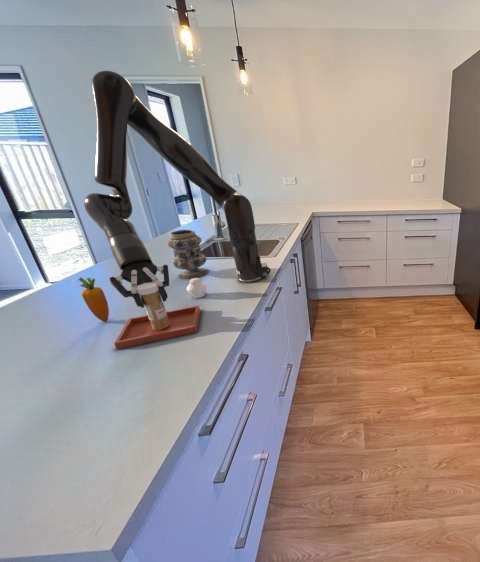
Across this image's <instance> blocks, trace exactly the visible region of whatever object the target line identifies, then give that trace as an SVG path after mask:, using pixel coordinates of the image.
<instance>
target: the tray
mask: <svg viewBox="0 0 480 562" xmlns="http://www.w3.org/2000/svg"><path fill="white" fill-rule="evenodd" d="M166 313H167V316H168V319H169V322H170V325H169V326H168V327H167V328H165V329H162V330H153V328H152V324H151V322H150V320H149V318H148V315H147V314H146V315H142V316H136V317H131V318H128V320H127V321H126V322H125V325H124V326H123V328H122V330H121V331H120V333H119V335H118V336H117V338H116V339H115V341H114V346H115V348H116V350H121V349H126V348H130V347H135V346H139V345H144V344H150V343H154V342H159V341H163V340H167V339H171V338H176V337H181V336H182V337H183V336H185V335H191V334H195V333H197V331H198V327H199V326H198V325H199V322H200V315H201V308H200V305H195V306H189V307H184V308H179V309H178V308H177V309H174V310H173V309H172V310H168V311H167V310H166Z"/></svg>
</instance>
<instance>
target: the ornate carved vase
mask: <svg viewBox="0 0 480 562" xmlns="http://www.w3.org/2000/svg"><path fill="white" fill-rule="evenodd" d="M166 243H167V246H168V247H169V248H171V249H172V251H173V256H174V258H173V261H172V265H173V267H175V268H176V269H179V270H184V271H183V272H181V273H180V275H179V277H180V278H183V279H193V278H198V277H200V276H203V275H205V274H207V272H208V270H207V269H205V268H201V267H202V266H204V265H205V264H206V262H207V256H206V255H205V254H203V253H202V249H201V246H200V244H201V243H202V237H201V236H200V235H198V234H197V233H196V231H195V230H193V229H179V230H174V231H171V232H170V233H169V239H168V240H167V242H166Z"/></svg>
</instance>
